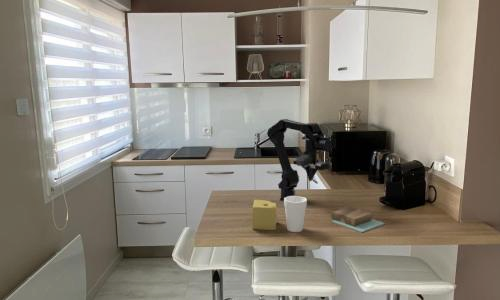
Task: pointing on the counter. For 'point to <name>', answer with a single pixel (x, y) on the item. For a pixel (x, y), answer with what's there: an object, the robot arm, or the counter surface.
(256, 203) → the cheese
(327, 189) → the counter surface
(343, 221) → the walnut block
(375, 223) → the mat
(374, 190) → the counter surface
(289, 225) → the foam cup
